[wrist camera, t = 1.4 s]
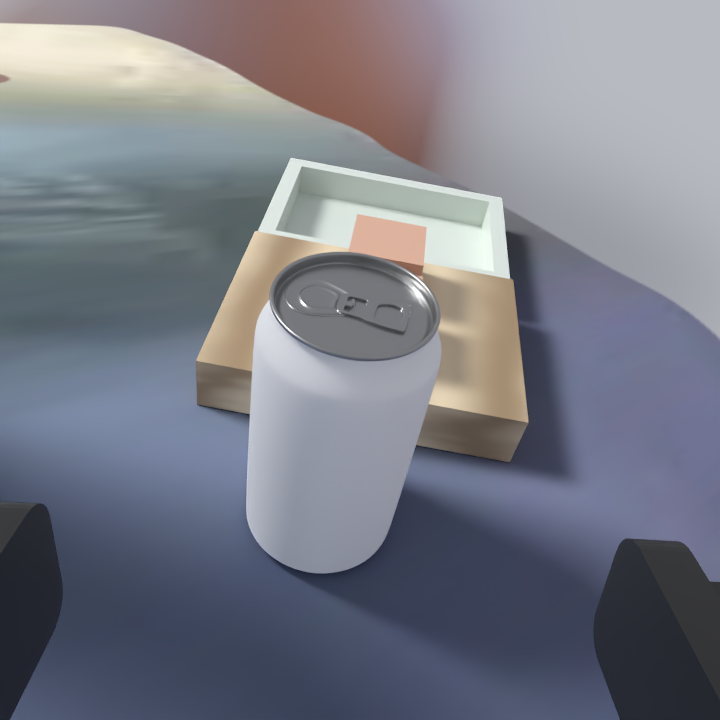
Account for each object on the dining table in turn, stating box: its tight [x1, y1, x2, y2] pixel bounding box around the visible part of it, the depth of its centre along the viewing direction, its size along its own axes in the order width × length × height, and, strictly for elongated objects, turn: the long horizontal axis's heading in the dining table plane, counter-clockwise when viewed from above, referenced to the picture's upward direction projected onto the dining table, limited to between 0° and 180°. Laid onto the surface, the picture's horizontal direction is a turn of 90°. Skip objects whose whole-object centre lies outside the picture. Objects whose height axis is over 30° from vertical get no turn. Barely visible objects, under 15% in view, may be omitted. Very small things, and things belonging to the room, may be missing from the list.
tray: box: [258, 158, 510, 279], centre depth 46 cm, size 16×11×2 cm
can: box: [246, 252, 442, 573], centre depth 25 cm, size 6×6×12 cm
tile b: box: [348, 214, 427, 276], centre depth 37 cm, size 4×4×3 cm
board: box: [196, 231, 529, 462], centre depth 37 cm, size 16×12×3 cm
